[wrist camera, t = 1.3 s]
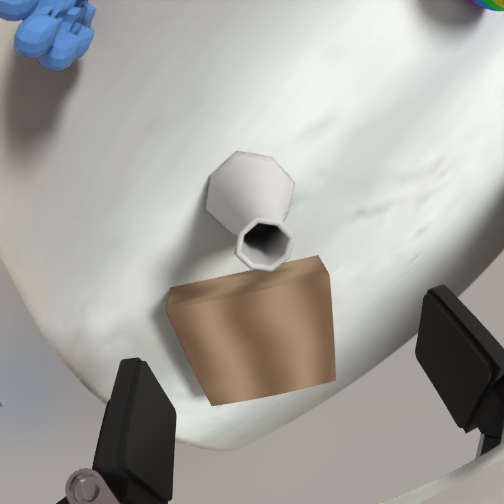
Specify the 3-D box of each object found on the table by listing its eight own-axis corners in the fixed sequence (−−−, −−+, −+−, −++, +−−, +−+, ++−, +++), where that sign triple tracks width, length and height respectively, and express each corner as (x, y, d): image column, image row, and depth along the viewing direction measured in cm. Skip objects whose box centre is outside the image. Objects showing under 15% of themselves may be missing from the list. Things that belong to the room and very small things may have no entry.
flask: (265, 247, 29) (285, 317, 20) (190, 212, 26) (175, 271, 18) (308, 178, 26) (353, 220, 17) (232, 135, 24) (238, 154, 15)
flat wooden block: (316, 253, 30) (329, 274, 26) (326, 355, 36) (335, 380, 32) (171, 285, 30) (165, 310, 26) (211, 380, 36) (211, 406, 33)
